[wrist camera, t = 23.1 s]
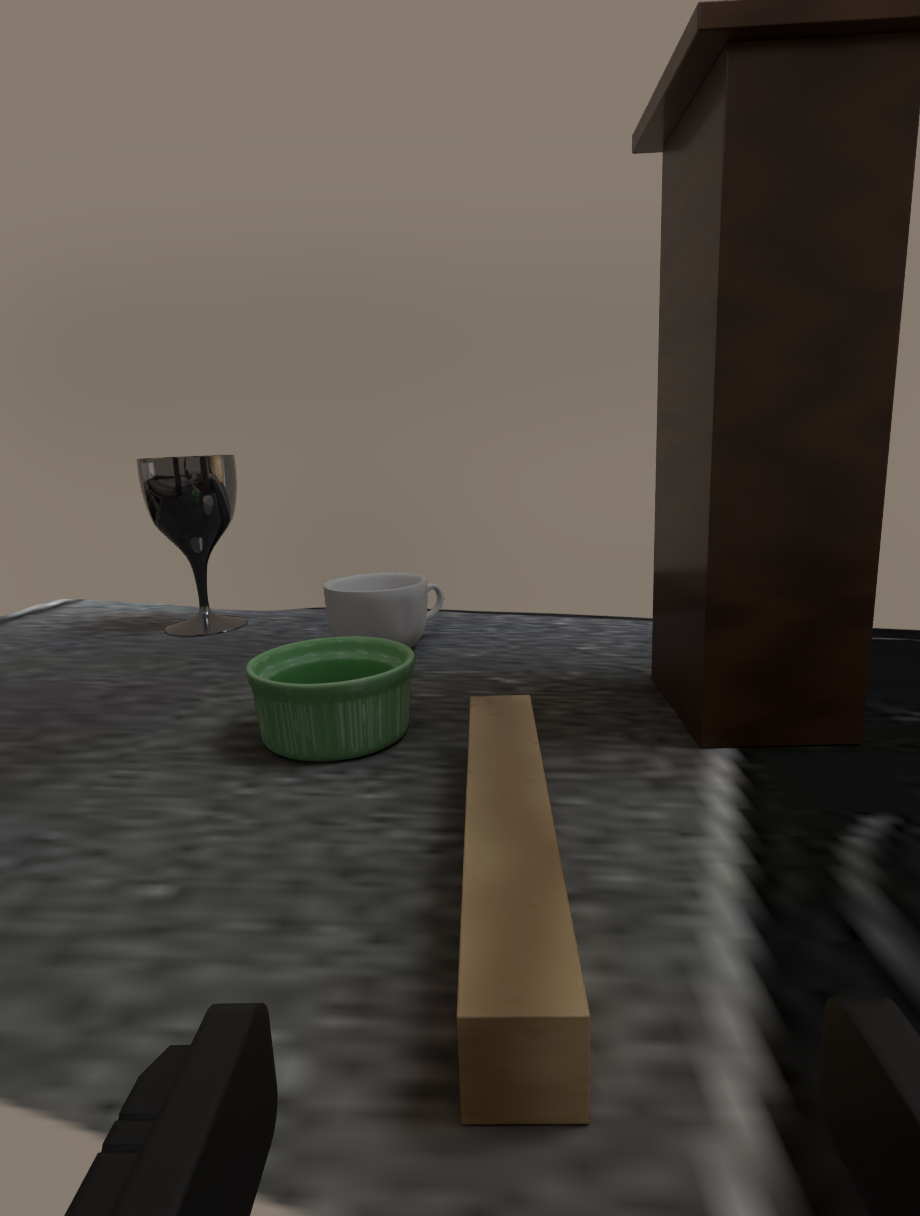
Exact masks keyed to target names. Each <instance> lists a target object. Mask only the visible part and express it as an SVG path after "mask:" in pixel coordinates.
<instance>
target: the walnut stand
mask: <svg viewBox="0 0 920 1216" xmlns="http://www.w3.org/2000/svg"><path fill="white" fill-rule="evenodd" d="M919 115H920V0H723V1H706V2H699V3H698V5H697V6H696V9H695V11H694V12H693V15H692V16H691V19H690V21H689V23H688V25H687V27H686V29H685V31H684V33H683V35H682V37H681V39H680V41H679V43H678V45H677V47H676V49H675V51H674V53H673V55H672V57H671V59H670V61H669V63H668V65H667V67H666V69H665V71H664V73H663V75H662V77H661V79H660V81H659V83H658V85H657V87H656V89H655V91H654V93H653V95H652V97H651V99H650V101H649V103H648V105H647V107H646V109H645V111H644V113H643V115H642V117H641V119H640V121H639V123H638V125H637V127H636V129H635V131H634V133H633V135H632V153H633V154H637V153H656V152H663V169H662V170H663V173H662V216H661V220H662V221H661V261H660V264H661V265H660V307H659V354H658V357H659V358H658V400H657V446H656V447H657V448H656V493H655V494H656V495H655V540H654V585H653V631H652V679H653V681H654V682H655V684H656V685H657V686H658V688H659V689H660V691H661V692H662V694H663V695H664V696H665V698H666V699H667V701H668V702H669V703H670V705H671V706H672V708H673V709H674V710H675V712H676V713H677V715H678V716H679V718H680V719H681V720H682V722H683V723H684V725H685V726H686V727H687V729H688V730H689V732H690V733H691V735H692V736H693V737H694V739H695V740H696V742H697V743H698V744H699V746H700V747H701V748H707V747H750V746H793V745H836V744H862V738H863V727H864V716H865V705H866V694H867V683H868V672H869V661H870V650H871V639H872V628H873V617H874V606H875V596H876V584H877V573H878V563H879V552H880V541H881V530H882V519H883V508H884V497H885V486H886V475H887V464H888V453H889V442H890V432H891V421H892V410H893V398H894V388H895V377H896V366H897V354H898V344H899V333H900V322H901V311H902V300H903V289H904V278H905V268H906V256H907V245H908V235H909V224H910V213H911V202H912V191H913V180H914V169H915V158H916V147H917V136H918V126H919Z"/></svg>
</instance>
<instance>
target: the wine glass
mask: <svg viewBox="0 0 920 1216" xmlns="http://www.w3.org/2000/svg"><path fill="white" fill-rule="evenodd" d="M137 467H138V475H139V480H140V485H141V491H142V494H143V498H144V501H145V504H146V507H147V510H148V512H149V515H150V517H151V519H152V521H153V523H154V525H155V526H156V527H157V528H158V529H159V530H160V531H161V532H162V533H163V534H164V535H165V536H166V537H167V538H168V539H169V540H170V541H172V542H173V543H174V544H175V545H176V546H177V547H178V548H179V549H180V550H181V551H182V552H183V553H184V555H185V556H186V557H187V559H188V560H189V562H190V564H191V567H192V569H193V573H194V576H195V581H196V585H197V590H198V596H199V606H200V610H199V613H198V614H197V615H196V616H194V617H192V618H190V619H186V620H183V621H180V622H176V623H174V624H171V625H169V626H167V627H166V628H165V632H166V633H168V634H171V635H178V636H197V635H208V634H215V633H221V632H226V631H230V630H233V629H237V628H239V627H242V626H243V625H245V624H246V623H247V620H246V619H245V618H243V617H238V616H228V615H218V614H215V613H213V612H212V611H211V610H210V608H209V604H208V596H207V563H208V560H209V557H210V554H211V552H212V550H213V548H214V546H215V545H216V543H217V542H218V540H219V539H220V538H221V536H222V535H223V533H224V532H225V530H226V529H227V528H228V526H229V524H230V523H231V521H232V519H233V515H234V511H235V503H236V491H237V480H236V466H235V459H234V455H214V456H191V457H166V458H145V459H137Z"/></svg>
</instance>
